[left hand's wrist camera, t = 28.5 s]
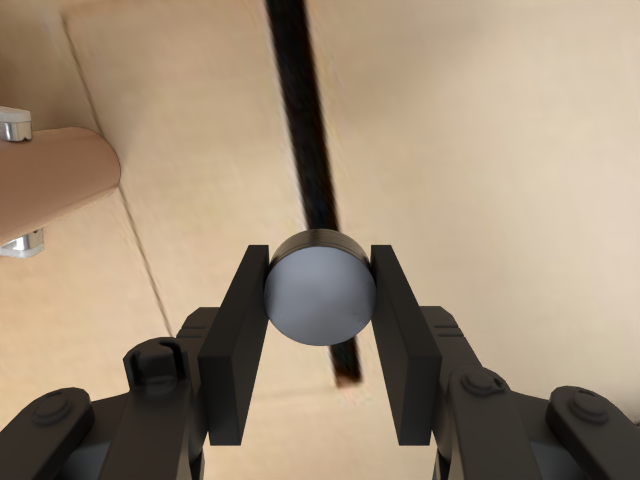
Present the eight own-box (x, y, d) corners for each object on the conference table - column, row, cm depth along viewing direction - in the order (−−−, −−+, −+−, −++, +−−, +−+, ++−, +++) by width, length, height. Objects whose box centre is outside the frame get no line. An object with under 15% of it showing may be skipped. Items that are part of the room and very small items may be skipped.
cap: (271, 321, 15) (266, 347, 14) (265, 229, 14) (258, 246, 12) (369, 319, 15) (375, 345, 14) (373, 227, 14) (380, 244, 12)
